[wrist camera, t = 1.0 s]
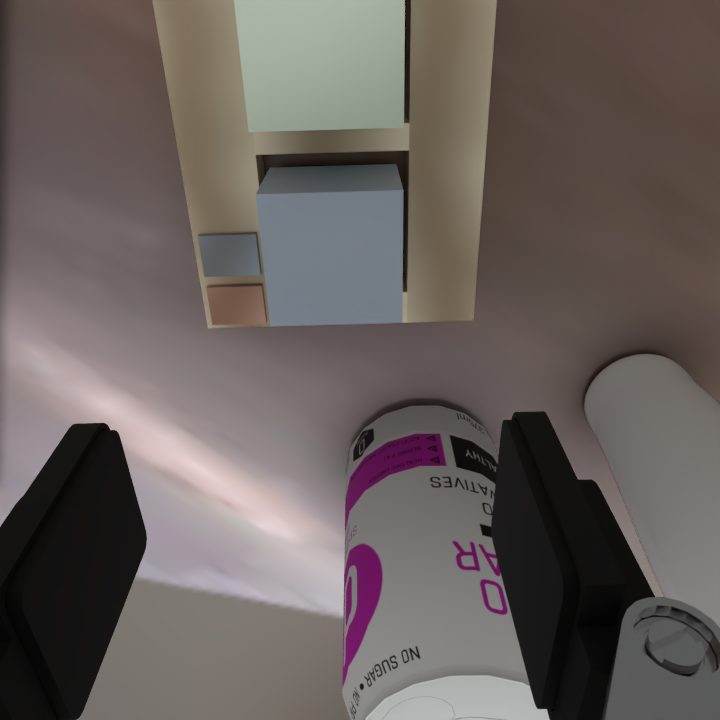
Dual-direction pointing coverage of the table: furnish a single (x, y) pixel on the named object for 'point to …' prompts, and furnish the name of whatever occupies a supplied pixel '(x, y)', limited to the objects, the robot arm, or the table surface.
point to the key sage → (322, 63)
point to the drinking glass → (665, 469)
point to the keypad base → (418, 138)
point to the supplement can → (427, 576)
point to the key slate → (332, 244)
